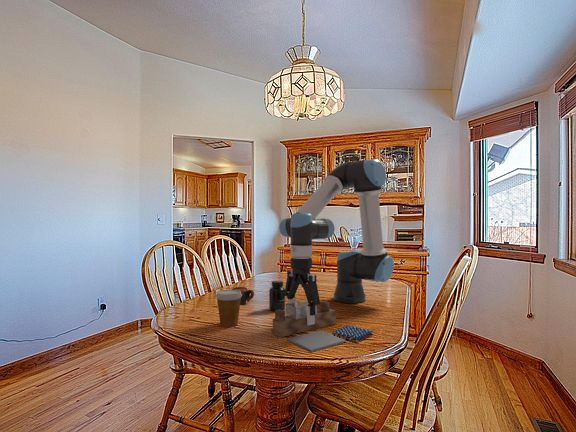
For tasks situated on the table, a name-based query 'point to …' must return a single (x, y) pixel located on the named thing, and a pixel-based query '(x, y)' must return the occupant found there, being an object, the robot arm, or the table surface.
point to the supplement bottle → (276, 296)
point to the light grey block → (298, 309)
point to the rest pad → (316, 340)
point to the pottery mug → (245, 294)
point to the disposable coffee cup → (228, 307)
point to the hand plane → (302, 321)
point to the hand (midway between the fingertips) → (301, 320)
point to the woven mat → (353, 333)
